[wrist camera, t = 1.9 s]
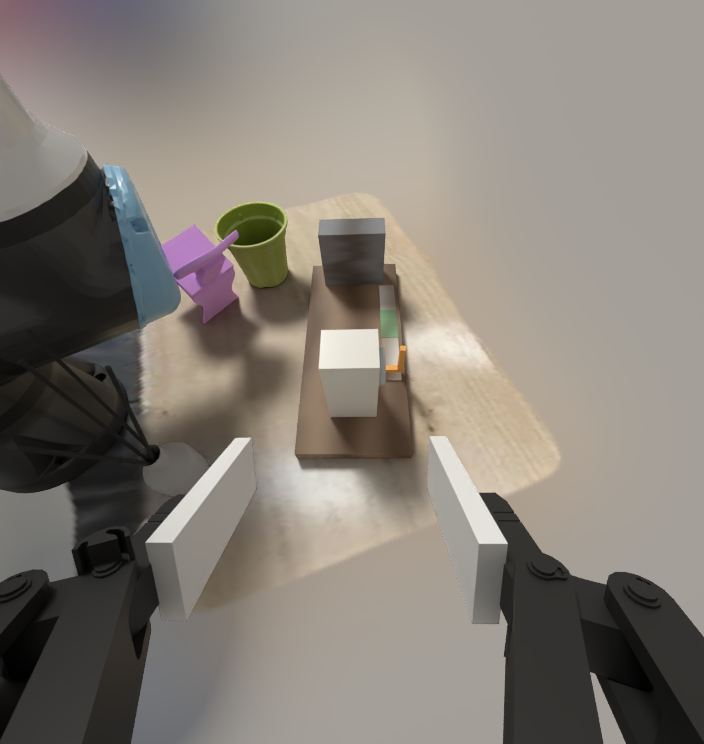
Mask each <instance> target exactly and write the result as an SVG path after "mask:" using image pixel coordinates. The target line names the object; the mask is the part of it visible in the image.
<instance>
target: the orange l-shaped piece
mask: <svg viewBox="0 0 704 744" xmlns="http://www.w3.org/2000/svg"><path fill="white" fill-rule="evenodd" d="M405 355H406V346H400V350H399V356H398V363H397V365H386V373H401V372H403V366H404V361H405Z"/></svg>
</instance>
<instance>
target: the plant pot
mask: <svg viewBox="0 0 704 744" xmlns="http://www.w3.org/2000/svg"><path fill="white" fill-rule="evenodd" d="M287 222H288V220H287V215H286V213H285V211H284V210H283V209H282V208H281V207H279V206H277V205H275V204H272V203H268V202H250V203H245V204H241V205H238V206H235V207H233V208H231V209H229V210H228V211H226V212H225V213H224V214H223V215H221V217H220V218H219V219H218V220H217V222H216V224H215V228H214V230H215V235H216V237H217V238H218V240H219V241H220V242H222V241H223V240H224V239H225V238H226V237H227V236H229V235H230V234H231V233H232V232H233V231H235V230H237V232H238V235H239V237H238V239H237V240H236V241H235V242H234V243H233V244H231V245H230V246H229V247H228V249H229V250H230V251H231V253H232V254H233V256H234V257H235V259H236V261H237V262H238V264H239V266H240V267H241V269H242V270H243V272H244V274H245V275H246V277H247V279H248V280H249V282H250V283H251V284H252V285H254V286H256V287H259V288H263V287H274V286H276V285H278V284H280V283H281V282H283V281H284V280H285V278H286V277H287V273H288V266H287V257H286V246H285V233H286V227H287Z"/></svg>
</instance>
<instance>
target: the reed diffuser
mask: <svg viewBox="0 0 704 744" xmlns="http://www.w3.org/2000/svg"><path fill="white" fill-rule="evenodd" d="M25 332H26V333H27V334H28V335H29V336H30V337H31V338H32V339H33V340H34V341H35V342H37V343H38V344H39V345H40V346H41V347H42V348H43V349H44V350H45V351H46V352H47V353H48V354H49V355H50V356H51V357H52V358H53V359H54V360H55V361H56V362H57V363H58V364H59V365H60V366H61V367H63V368H64V369H65V370H66V371H67V372H68V373H69V374H70V375H71V376H72V377H73V378H74V379H75V380H76V381H77V382H78V383H79V384H80V385H81V386H82V387H83V388H84V389H85V390H86V391H87V392H89V393H90V394H91V395H92V396H93V397H94V398H95V399H96V400H97V401H98V402H99V403H100V404H101V405H102V406H103V407H104V408H105V409H106V410H107V411H108V412H109V413H110V414H111V415H112V416H113V417H115V418H116V419H117V420H118V421H119V422H120V423H121V424H122V425H123V426H124V427H125V428H126V429H127V430H128V431H129V432H130V433H131V434H132V435H133V436H134V437H135V438H136V439H137V440H138V441H139V442H141V443H142V444H143V445H144V446H145V448H144V449H143V450H142V451H141V452H139V451H138V450H137V449H136V448H134V447H133V446H132V445H130V444H129V443H128V442H127V441H125V440H124V439H123V438H122V437H120V436H119V435H118V434H117V433H115V432H114V431H113V430H111V429H110V428H109V427H108V426H106V425H105V424H104V423H103V422H101V421H100V420H99V419H98V418H96V417H95V416H94V415H92V414H91V413H90V412H89V411H87V410H86V409H85V408H84V407H82V406H81V405H80V404H79V403H77V402H76V401H75V400H73V399H72V398H71V397H70V396H68V395H67V394H66V393H65V392H63V391H62V390H61V389H60V388H58V387H57V386H56V385H54V384H53V383H52V382H51V381H49V380H48V379H47V378H46V377H44V376H43V375H42V374H41V373H39V372H38V371H37V370H35V369H34V368H33V367H32V366H30V365H29V364H28V363H27V362H25V361H24V360H23V359H19V360H18V361H17V362H18V363H19V364H20V365H21V366H23V367H24V368H25V369H27V370H28V371H29V372H31V373H32V374H33V375H34V376H36V377H37V378H38V379H40V380H41V381H42V382H44V383H45V384H46V385H47V386H49V387H50V388H51V389H53V390H54V391H55V392H57V393H58V394H59V395H60V396H62V397H63V398H64V399H66V400H67V401H68V402H70V403H71V404H72V405H73V406H75V407H76V408H77V409H79V410H80V411H81V412H83V413H84V414H85V415H86V416H88V417H89V418H90V419H92V420H93V421H94V422H96V423H97V424H98V425H99V426H101V427H102V428H103V429H105V430H106V431H107V432H109V433H110V434H111V435H113V436H114V437H115V438H116V439H118V440H119V441H120V442H122V443H123V444H124V445H126V446H127V447H128V448H129V449H131V450H132V451H133V452H135V453H136V454H137V455H139V457H138V461H137V460H129V459H121V458H113V457H105V456H97V455H90V454H82V453H74V452H66V451H58V450H50V449H42V448H35V447H27V446H20V447H19V448H18V451H19V452H29V453H38V454H47V455H57V456H66V457H76V458H85V459H94V460H104V461H113V462H122V463H132V464H140V465H142V466H144V467H143V478H144V480H145V483H146V484H147V485H148V486H149V487H150V488H151V489H153V490H154V491H156V492H159V493H162V494H165V495H169V496H173V497H175V496H176V495H178V494H188V492H189V491H190V490H191V489H192V488H193V487H194V485H195V484H196V483H197V482H198V481H199V480H200V478H201V477H202V476H203V475H204V474H205V473H206V472H207V470H208V469H209V465H208V462H207V460H206V459H205V458H204V457H203V456H202V455H201V454H200V453H199V452H197V451H196V450H195V449H194V448H192V447H191V446H189V445H187V444H185V443H182V442H168V443H165V444H163V445H160V446H159V447H158V446H156V445H148V443H147V441H146V439H145V436H144V434H143V432H142V430H141V428H140V426H139V424H138V422H137V420H136V418H135V416H134V414H133V412H132V410H131V408H130V406H129V403H128V401H127V399H126V397H125V395H124V393H123V391H122V389H121V387H120V385H119V383H118V381H117V379H116V377H115V375H114V373H113V370H112V368H111V366H106V367H105V369H106V371H107V373H108V375H109V377H110V379H111V381H112V383H113V385H114V387H115V389H116V391H117V393H118V395H119V396H120V398H121V400H122V402H123V404H124V406H125V408H126V410H127V412H128V414H129V416H130V418H131V420H132V422H133V424H134V426H135V428H136V430H137V432H138V434H139V435H138V434H137V433H136V432H134V431H133V430H132V429H131V428H130V427H129V426H128V425H127V424H126V423H125V422H124V421H123V420H122V419H121V418H120V417H119V416H118V415H117V414H116V413H115V412H114V411H113V410H112V409H111V408H110V407H109V406H108V405H107V404H106V403H105V402H104V401H103V400H102V399H101V398H100V397H99V396H98V395H97V394H96V393H95V392H94V391H93V390H92V389H91V388H90V387H89V386H88V385H87V384H85V383H84V382H83V381H82V380H81V379H80V378H79V377H78V376H77V375H76V374H75V373H74V372H73V371H72V370H71V369H70V368H69V367H68V366H67V365H66V364H65V363H64V362H63V361H62V360H61V359H60V358H59V357H58V356H57V355H56V354H55V353H54V352H53V351H52V350H51V349H50V348H49V347H48V346H47V345H46V344H45V343H44V342H43V341H42V340H41V339H40V338H39V337H38V336H36V335H35V334H34V333H33V332H32V331H31V330H30V329H29V330H27V331H25Z"/></svg>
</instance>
